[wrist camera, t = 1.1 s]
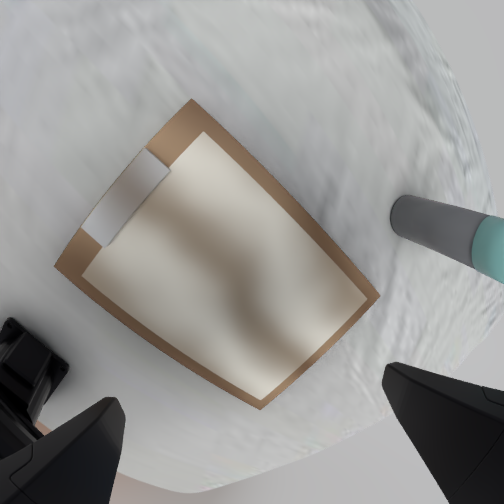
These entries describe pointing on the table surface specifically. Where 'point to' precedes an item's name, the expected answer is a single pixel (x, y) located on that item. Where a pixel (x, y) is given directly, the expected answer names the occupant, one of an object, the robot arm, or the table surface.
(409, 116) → the table surface
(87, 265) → the clipboard
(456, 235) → the marker
